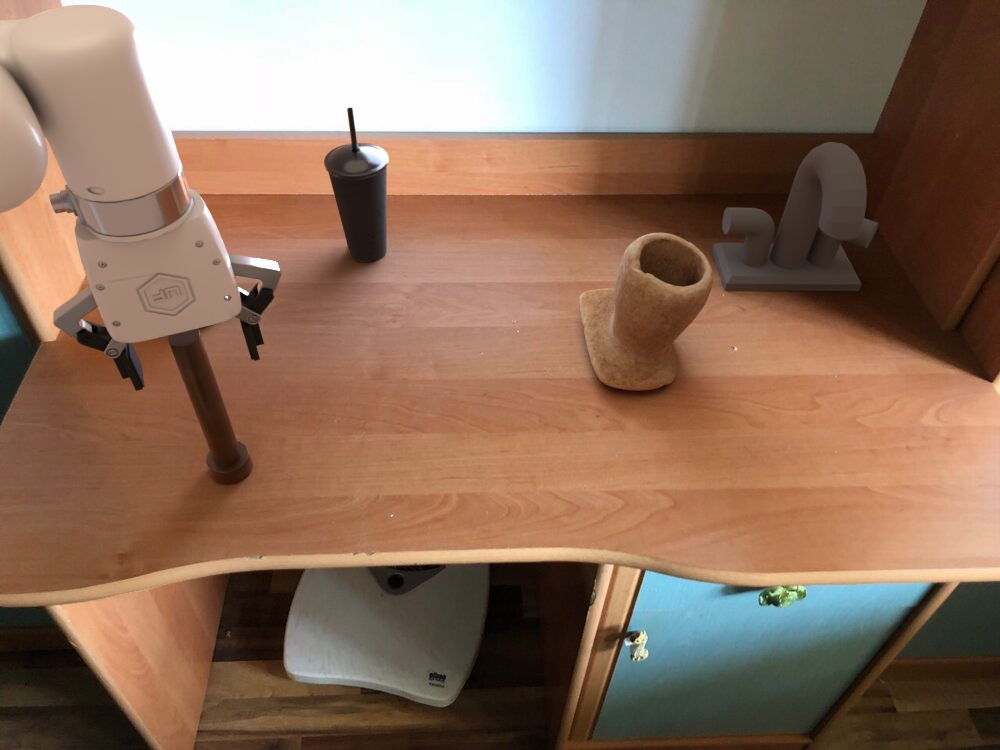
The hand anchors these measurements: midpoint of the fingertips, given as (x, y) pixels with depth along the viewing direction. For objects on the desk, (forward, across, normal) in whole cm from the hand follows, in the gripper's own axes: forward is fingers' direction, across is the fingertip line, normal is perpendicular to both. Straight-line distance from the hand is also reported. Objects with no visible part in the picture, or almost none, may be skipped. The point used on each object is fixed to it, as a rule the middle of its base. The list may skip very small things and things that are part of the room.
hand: (197, 364), depth 69 cm
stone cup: (+15, +46, +1) cm, 48 cm away
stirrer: (+14, 0, 0) cm, 15 cm away
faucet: (+16, +70, +4) cm, 71 cm away
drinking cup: (+15, +22, +30) cm, 40 cm away
